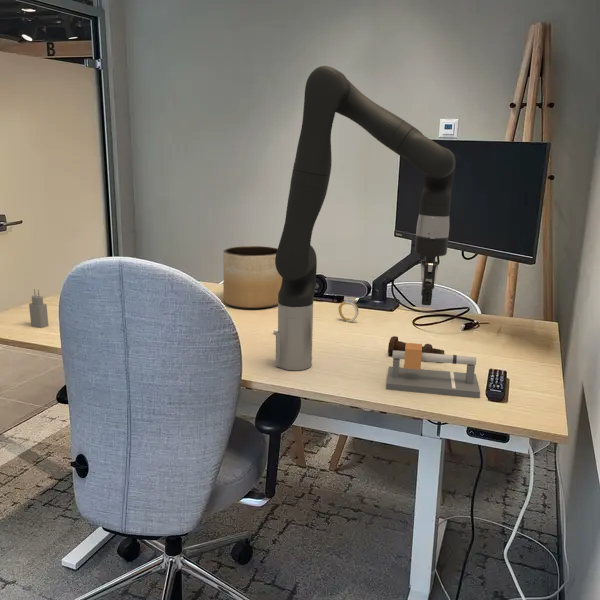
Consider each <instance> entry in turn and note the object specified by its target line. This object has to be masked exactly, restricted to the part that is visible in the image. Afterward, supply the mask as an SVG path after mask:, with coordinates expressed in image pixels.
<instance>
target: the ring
mask: <svg viewBox="0 0 600 600" xmlns="http://www.w3.org/2000/svg"><path fill="white" fill-rule="evenodd" d="M348 304H349V305H352V307H353V308H354V311H355V313H354V317H352V318H346V317H345V316H344V314H343V311H342V309H343V306H345V305H348ZM338 313H339V315H340V318H341V319H343V321H345V322H347V323H350V322H352V321H355V320H356V319H357V318H358V315H359V307H358V305H357V304H356V303H355V300H354V299H352V298H345V300H344V301H342V302H341V303H340V304H339V306H338Z"/></svg>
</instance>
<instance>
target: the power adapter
mask: <svg viewBox="0 0 600 600" xmlns="http://www.w3.org/2000/svg"><path fill="white" fill-rule="evenodd" d="M33 291H34V292H33V294H34V295H31V303H28V304H29V305H28V307H29V308H28V309H29V317H30V326H31V327H34V328H38V329H44V328H47V327H49V316H48V315H49V314H48V308H47V307H48V305H47V303H44V299H43V298H44V296H41V295H40V291H39V289H37V294H36V289H35V288H34V289H33Z"/></svg>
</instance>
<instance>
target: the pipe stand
mask: <svg viewBox="0 0 600 600" xmlns="http://www.w3.org/2000/svg"><path fill="white" fill-rule="evenodd" d="M391 359H392V366H388V368H387V369H388V370H387V374H386V375H387V376H386V381H385V390H389V391H401V392H411V393H421V394H422V393H423V394H433V395H443V396H444V395H445V396H453V397H454V396H456V397H463V398H474V399H475V398H477V399H480V398H481V390H480V386H479V382H478V378H477V374H476V373H475V370H476V369H475V368H476V367H475V366H477V357H476V356H471V355H470V356H469V355H458V354H446V353H445V354H432V353H422V357H421V362H431V363H433V362H434V363H444V364H453V365H457V364H458V365H466V372H459V371H448V370H447V371H446V370H444V371H443V370H434V369H424V368H422V369H421V370H418V369H407V368H404V367H401V366H400V365H401V364H400V362H401V360H405V351H395V350H393V356H392V358H391Z"/></svg>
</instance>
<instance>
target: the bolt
mask: <svg viewBox="0 0 600 600" xmlns="http://www.w3.org/2000/svg"><path fill="white" fill-rule="evenodd" d="M406 343H407V342H404V341H399V337H398V336H396V335H393V336H391V337H390V339H389V342H388V348H387V354H388V355H389V356H390V357H391V356H393V350H395V351H405V346H406ZM422 353H432V354H445V355H446V353H445V350H443V349H439V348H435V347H433V345H432V344H431V343H425V344H424V345H422Z"/></svg>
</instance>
